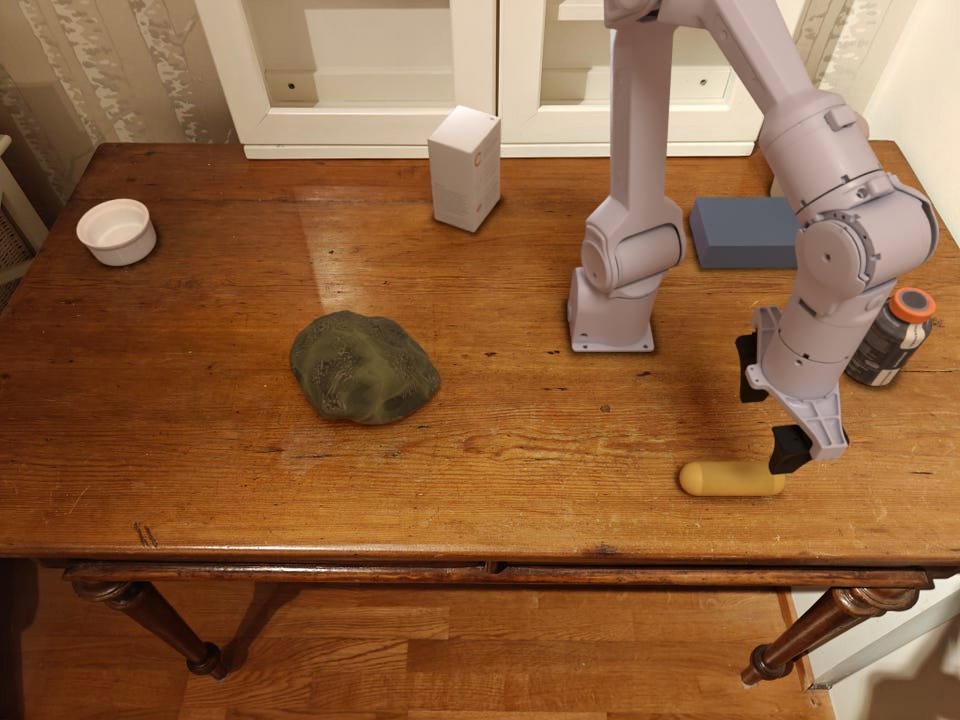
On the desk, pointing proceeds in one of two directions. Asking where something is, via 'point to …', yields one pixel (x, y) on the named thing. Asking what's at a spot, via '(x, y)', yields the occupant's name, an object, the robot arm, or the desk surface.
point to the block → (744, 232)
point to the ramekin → (117, 232)
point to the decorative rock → (362, 368)
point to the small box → (465, 167)
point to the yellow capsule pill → (730, 478)
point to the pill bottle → (893, 337)
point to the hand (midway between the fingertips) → (765, 433)
